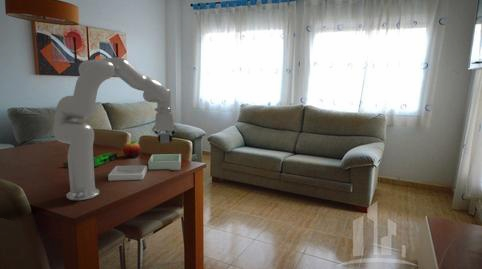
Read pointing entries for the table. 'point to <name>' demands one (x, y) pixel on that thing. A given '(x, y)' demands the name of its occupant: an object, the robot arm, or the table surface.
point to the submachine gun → (100, 159)
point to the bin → (165, 161)
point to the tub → (128, 173)
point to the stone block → (164, 137)
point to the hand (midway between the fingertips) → (165, 141)
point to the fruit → (132, 149)
